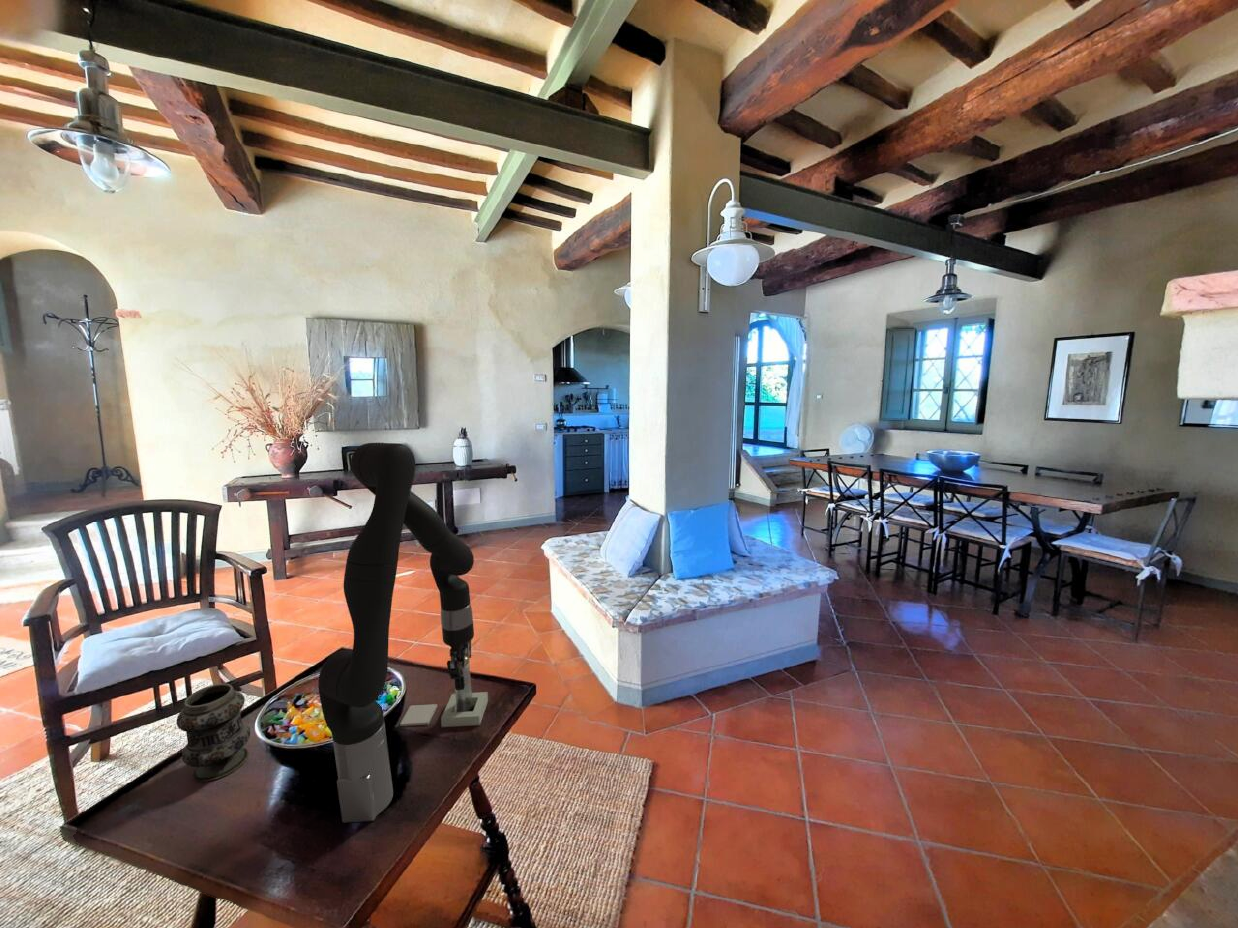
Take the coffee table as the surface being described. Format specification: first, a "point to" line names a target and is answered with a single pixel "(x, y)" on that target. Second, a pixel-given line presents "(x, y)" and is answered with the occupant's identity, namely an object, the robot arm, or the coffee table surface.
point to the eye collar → (465, 718)
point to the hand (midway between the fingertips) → (462, 683)
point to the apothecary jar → (214, 732)
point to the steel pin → (464, 690)
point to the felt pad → (418, 715)
